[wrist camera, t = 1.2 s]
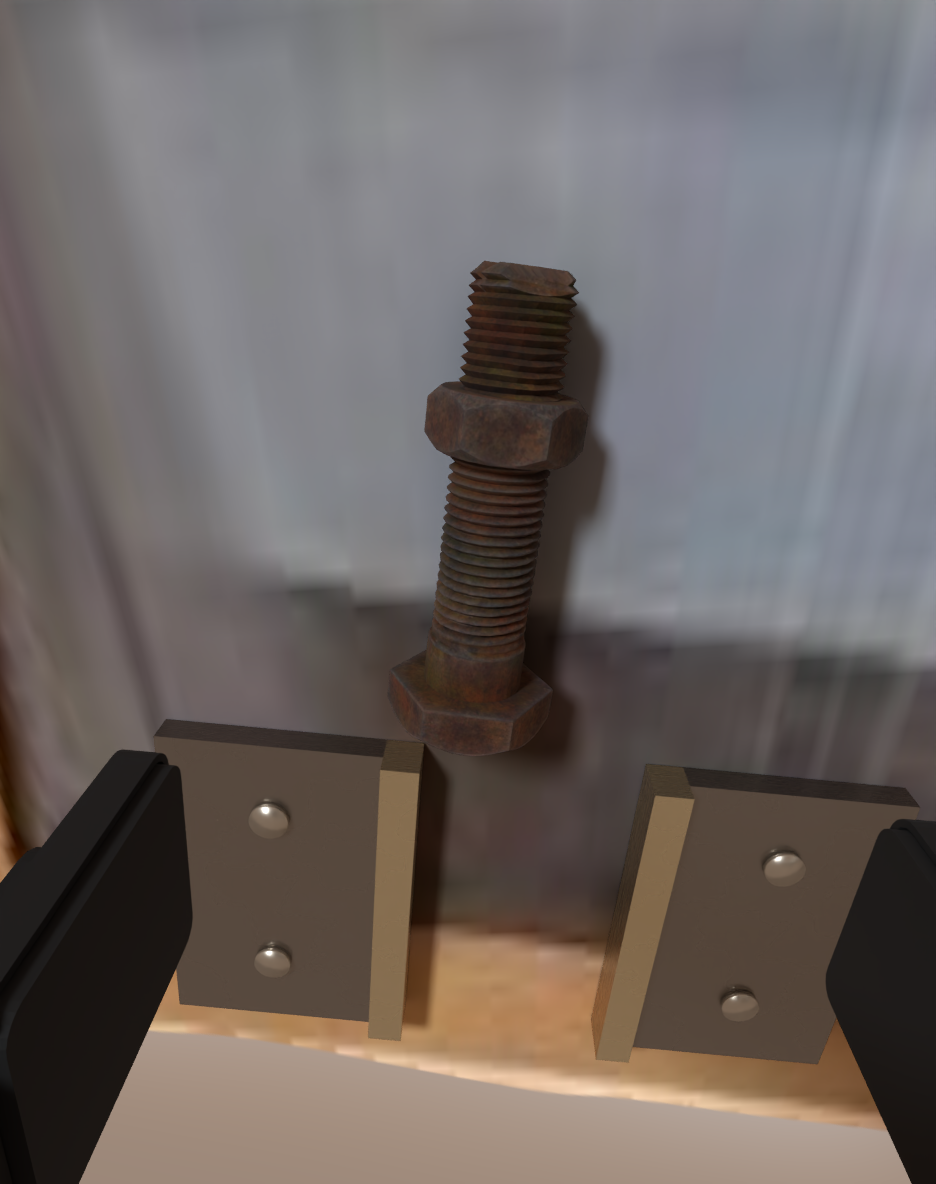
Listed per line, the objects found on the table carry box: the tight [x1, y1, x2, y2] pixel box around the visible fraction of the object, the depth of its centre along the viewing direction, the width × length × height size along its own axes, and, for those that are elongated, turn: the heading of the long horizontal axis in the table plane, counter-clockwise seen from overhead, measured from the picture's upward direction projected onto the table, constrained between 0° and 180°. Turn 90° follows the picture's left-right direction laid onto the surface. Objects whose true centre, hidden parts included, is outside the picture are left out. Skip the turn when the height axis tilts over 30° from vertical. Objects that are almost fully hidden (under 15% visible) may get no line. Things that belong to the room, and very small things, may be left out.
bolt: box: [388, 261, 588, 756], centre depth 25 cm, size 6×5×15 cm
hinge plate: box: [154, 719, 920, 1064], centre depth 33 cm, size 30×15×2 cm, turn 85°
